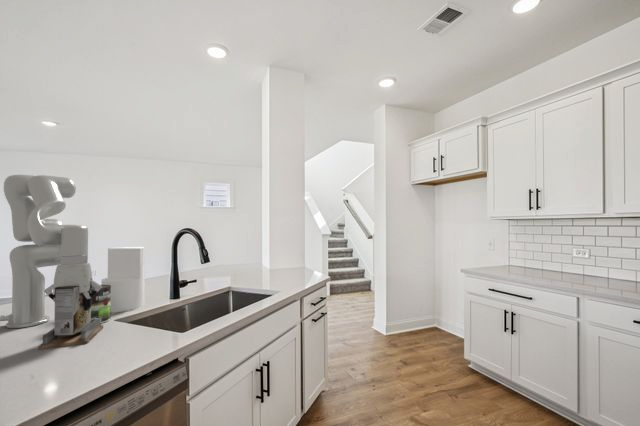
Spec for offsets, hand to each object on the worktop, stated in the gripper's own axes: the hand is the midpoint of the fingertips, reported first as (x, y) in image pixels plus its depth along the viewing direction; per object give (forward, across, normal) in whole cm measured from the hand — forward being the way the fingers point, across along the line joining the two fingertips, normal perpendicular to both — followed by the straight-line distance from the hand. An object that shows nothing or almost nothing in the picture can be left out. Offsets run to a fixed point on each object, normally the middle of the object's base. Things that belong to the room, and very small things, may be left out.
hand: (73, 310), depth 106 cm
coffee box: (+7, 0, 0) cm, 7 cm away
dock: (+9, 0, 0) cm, 9 cm away
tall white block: (+10, +6, +39) cm, 41 cm away
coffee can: (+10, +1, +18) cm, 21 cm away
